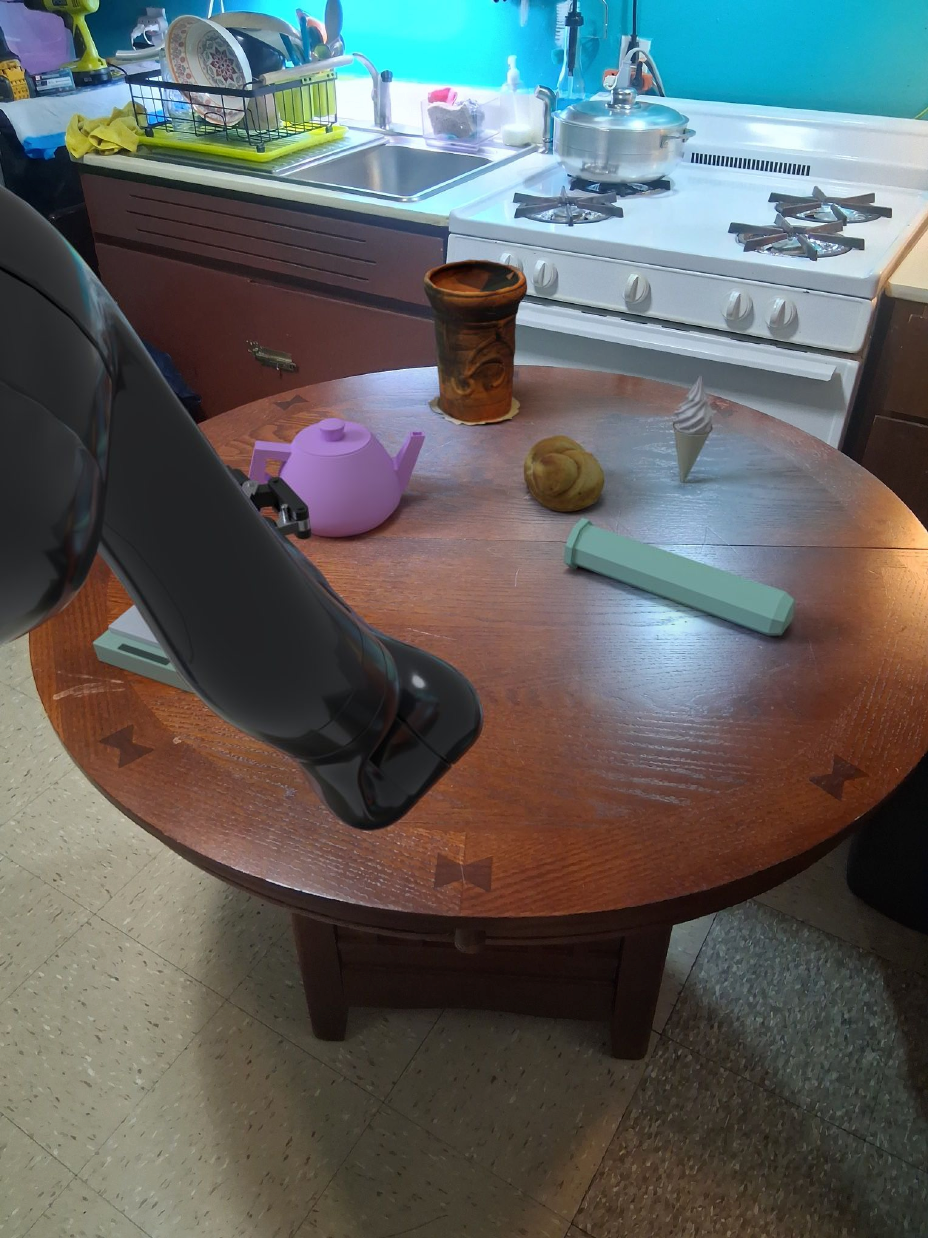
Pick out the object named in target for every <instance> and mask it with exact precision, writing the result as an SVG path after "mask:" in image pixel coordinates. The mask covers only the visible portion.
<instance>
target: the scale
mask: <svg viewBox="0 0 928 1238" xmlns="http://www.w3.org/2000/svg"><path fill="white" fill-rule="evenodd" d="M107 628H108V629H107V630H106V631H104V632H103V633H102V634H101V635H100V636H99V637H97V638H96V639H95V640H94V641H93V642H92V645H93V648H94V652H95V654H96V657H97V659H98V661H99V662H102V663H106V664H108V665H110V666H113V667H116V668H119V669H122V670H125V671H128V672H131V673H134V674H137V675H139V676H143V677H145V678H148V679H151V680H154V681H156V682H159V683H161V684H165V685H168V686H170V687H174V688H176V689H180V690H182V691H184V692H188V693H191V694H194V692H193V691H192V690H191V689H190V688H189V687H188V686H187V684H186V683H185V682H184V681H183V679H182V678H181V677H180V676H179V674H178V673H177V671H176V670H175V668H174V667H173V665H172V664H171V662H170V661H169V659H168V658H167V656H166V654H165V653H164V651H163V649H162V648H161V646H160V645H159V643H158V642H157V640H156V638H155V637H154V635H153V634H152V632H151V631H150V629H149V627H148V626H147V624H146V623H145V621H144V619H143V618H142V616H141V615H140V613H139V611H138V610H137V608H136V607H135V605H134V604H133V605H132V606H131V607H129V608H128V609H127V610H126V611H125V612H123V613H122V614H121V615H120V616H119V617H118V618H117V619H115V620H114V621H112V622H111V623H110V624H109V625H108V627H107Z"/></svg>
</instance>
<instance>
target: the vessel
mask: <svg viewBox="0 0 928 1238" xmlns="http://www.w3.org/2000/svg"><path fill="white" fill-rule="evenodd" d="M423 290H424V293H425V295H426V297H427V299H428V301H429V304H430V307H431V310H432V314H433V317H434V318H433V321H434V334H435V335H434V336H435V343H436V344H435V359H436V360H435V361H436V367H437V374H438V389H439V395H438V396H434V399H432V400H430V401H428V402H427V403H428V405H429V406H430V408H431V409H432V411H434V412H435V413H438V414H442V415H441V417H442V418H444V421H449V422H451V423H453V424H454V425H456V426H458V425H461V424H464V425H467V426H474V425H477V424H478V425H483V424H484V425H485V424H486V423H497V422H502V421H506V420H513V418H512V417H514V416H516V415H517V414H518V413H519V412H520V411H519V408H520V406H521V403H520V401H518V400H517V399H515V397H514V396H513V386H514V385H513V383H514V376H515V375H514V374H515V355H516V329H517V314H518V313H519V307H520V305H521V303H522V302H523V300H524V299H525V297H526V295H527V292H528V280H527V277H526V275H525V273H524V272H523V271H522V270H521V268H519V267H518V266H517V267H516V266H514V265H512V264H503V263H500V262H495V261H491V260H488V259H471V258H470V259H465V260H460V261H452V262H447V263H444V264H442V265H439V266H436V267H433V268H431V269H430V270H428V271H427V272H426V274H425V275H424V278H423Z"/></svg>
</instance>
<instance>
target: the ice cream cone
mask: <svg viewBox="0 0 928 1238" xmlns="http://www.w3.org/2000/svg"><path fill="white" fill-rule="evenodd" d="M685 397H686V398H685V399H686V400H685V401H684V402H682V403H680V404H678V405H677V407H678V408H679V410H674V412H673V415H674V416H676V418H675V419H673V420H672V424H671V426H672V429H673V435H674V442H675V450H676V457H677V464H678V472H679V477H680V483H681V484H684V483H686V480H687V479H688V477H689V475H690V473H691V471H692V469H693V467H694V465H695V464H696V461H697V459H698V458H699V456H700V453H701V452H702V449H703V448H704V446H705V443H706V441H707V439H708V438H709V435H710V434H711V433H712V432H713V430H714V428H713V424H714V423H713V422H714V418H715V414H714V411H713V409H712V406H710V405H709V403H708V399H709V395H708V394H707V392H706V390H705V387H704V382H703V378H702V375H701V374H700V375H699V377H698V378H697V380H696V381H695V383H694V384H693V386H692V388H690V390H689V391H688V392H687V394H686V395H685Z"/></svg>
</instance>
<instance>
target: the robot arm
mask: <svg viewBox="0 0 928 1238" xmlns="http://www.w3.org/2000/svg"><path fill="white" fill-rule="evenodd" d="M264 508H265V509H266V508H271V510H273V512H274V513H275V514H276V516H277V517H278V519H277V520H275V519H273V518H272V517H269V516H267V515H262V513H263V511H264ZM292 534H293V535H294V536H295V537H296V538H297V539H298V540H308V539H309V538H311V537H312V536H313V534H312V532H311V525H310V517H309V509H308V506H307V505H306V504H305V503H304V502H303V501H302V499H301V498H300V497H299V496H298V495H297V494H296V493H295V492H294V491H293V490H292V489H291V487H290V486H289V485H288V484H287V483H286V482H285V481H284V480H283V479H282V478H280V477H277V476H273V477H272V478H270V479H269V480H268V484H259V483H258V482H257V481H255V480H251V479H249V478H248V475H247V474H246V473H245V472H243V471H242V470H241V469H239V468H232V467H231V466H230V464H225V463H224V461H223V459H222V458H221V456H220V455H219V454H218V452H217V451H216V449H215V447H213V445H212V444H211V442H210V441H209V439H208V438H207V436H206V435H205V434H204V432H203V431H202V429H201V428H200V426H199V425H198V423H197V422H196V421H195V420H194V418H193V417H192V415H191V414H190V412H189V411H188V410H187V408H186V407H185V406H184V404H183V403H182V401H181V400H180V398H179V396H178V395H177V393H176V392H175V391H174V389H173V387H172V386H171V384H170V383H169V382H168V380H167V378H166V377H165V375H164V374H163V372H162V371H161V370H160V368H159V366H158V364H157V363H156V362H155V360H154V359H153V357H152V355H151V354H150V353H149V350H147V348H146V346H145V345H144V343H143V342H142V340H141V338H140V337H139V335H138V334H137V332H136V331H135V329H134V327H133V326H132V324H131V323H130V322H129V320H128V319H127V318H126V315H125V314H124V313H123V311H122V310H121V308H120V307H119V306H118V304H117V303H116V301H115V299H114V298H113V297H112V296H111V294H110V293H109V291H108V290H107V289H106V287H105V286H104V284H103V283H102V282H101V280H100V279H99V278H98V276H97V275H96V274H95V272H94V271H93V269H92V268H91V267H90V265H89V264H88V263H87V261H86V260H85V259H84V258H83V257H82V255H81V254H80V253H79V252H78V251H77V250H76V248H75V247H74V246H73V245H72V243H70V242H69V240H67V239H66V238H65V236H64V235H63V234H62V233H61V232H60V231H59V229H57V228H56V227H55V226H54V225H52V224H51V223H50V221H49V220H47V219H46V217H44V215H42V214H41V213H40V212H39V211H37V210H36V209H35V208H34V207H33V206H31V204H29V202H27V201H25V200H24V199H22V198H21V197H20V196H18V195H16V194H15V193H14V192H12V191H11V190H10V189H8V188H6V187H4V186H3V185H2V184H0V647H4V646H5V645H7V644H9V643H11V642H14V641H16V640H18V639H20V638H22V637H24V636H26V635H27V634H29V633H31V632H33V631H35V630H36V629H38V628H41V626H43V625H45V624H46V623H47V622H49V621H50V620H52V619H53V618H55V617H56V616H58V615H59V614H60V613H61V612H62V611H63V610H64V609H65V608H67V606H68V605H69V604H71V602H72V601H73V600H74V599H75V597H76V596H77V595H78V593H79V592H80V591H81V589H82V587H84V585H85V584H86V583H85V582H86V581H87V578H88V575H89V573H90V571H91V568H92V567H93V564H94V561H95V558H96V555H97V553H98V554H99V556H100V557H101V558H102V559H103V561H104V562H105V563H106V565H107V566H108V567H109V568H110V571H112V573H113V575H114V576H115V577H116V579H117V580H118V582H119V584H120V585H121V586H122V588H123V590H124V591H125V592H126V594H127V595H128V597H129V598H130V600H131V602H132V603H133V605H135V607H136V608H137V610H138V611H139V613H140V615H141V616H142V618H143V619H144V621H145V623H146V624H147V626H148V627H149V629H150V631H151V632H152V634H153V635H154V637H155V638H156V640H157V642H158V643H159V645H160V646H161V648H162V649H163V651H164V653H165V654H166V656H167V658H168V659H169V661H170V662H171V664H172V665H173V667H174V668H175V670H176V671H177V673H178V674H179V676H180V677H181V678H182V679H183V681H184V682H185V683H186V684H187V686H188V687H189V688H190V689H191V690H192V691H193V692H194V693H193V694H194V695H195V696H196V697H197V698H198V699H199V700H200V702H201V703H202V704H203V705H204V706H205V707H206V708H207V709H209V710H210V711H211V712H212V713H213V714H214V715H215V716H216V717H218V718H219V719H221V720H222V721H223V722H225V723H226V724H228V725H229V726H231V727H233V728H234V729H235V730H237V731H238V732H240V733H243V734H245V735H246V736H249V737H250V738H252V739H253V740H254V739H255V740H256V741H258V742H259V743H262V744H264V745H266V746H267V747H269V748H271V749H273V750H275V751H277V752H279V753H281V754H283V755H285V756H286V757H288V758H289V759H291V761H293V762H294V763H295V764H296V765H297V766H298V768H299V771H300V772H301V774H302V775H303V777H304V779H305V781H306V782H307V784H308V786H309V788H310V789H311V790H312V792H313V794H314V795H315V796H316V797H317V799H318V800H319V802H320V803H321V804H322V806H324V808H325V809H326V810H327V811H328V812H329V813H330V814H331V815H332V816H333V817H334V818H336V819H337V820H338V821H339V822H340V823H342V824H344V825H346V826H348V827H350V828H352V829H354V830H357V831H363V832H374V831H380V830H384V829H386V828H390V827H391V826H393V825H394V824H397V823H398V822H399V821H401V820H402V819H403V818H404V817H405V816H407V815H408V814H409V812H410V811H411V810H412V809H413V808H414V807H416V806H417V804H418V803H419V802H420V800H422V799H423V798H424V797H425V796H426V795H427V794H428V793H429V791H430V790H432V789H433V788H434V786H436V785H437V784H438V783H439V782H440V780H442V778H443V777H444V776H445V775H446V774H447V773H448V772H449V771H450V770H451V769H452V768H453V766H454V765H456V764H457V763H458V762H459V761H460V760H461V759H462V758H463V757H465V755H466V754H467V753H468V752H469V751H470V750H471V749H472V748H473V746H474V745H475V744H476V742H477V741H478V739H479V738H480V737H481V734H482V731H483V729H484V722H485V721H484V710H483V709H484V708H483V705H482V701H481V698H480V696H479V693H478V691H477V690H476V688H475V687H474V685H473V684H472V682H471V681H470V680H469V679H468V678H467V676H465V674H464V673H462V672H461V671H460V670H459V669H458V668H457V667H455V666H454V665H453V664H451V663H449V662H448V661H446V660H445V659H443V658H441V657H439V656H437V655H435V654H434V653H431V652H429V651H427V650H425V649H424V648H420V647H418V646H416V645H414V644H411V643H409V642H406V641H404V640H401V639H399V638H397V637H394V636H392V635H390V634H388V633H385V632H384V631H382V630H381V629H379V628H376V627H375V626H373V625H372V624H371V623H369V622H367V621H366V620H365V619H364V618H363V617H362V616H361V615H360V614H359V613H358V612H357V611H356V610H355V609H353V608H352V606H350V604H349V603H348V602H346V600H344V599H343V598H342V597H341V596H340V595H339V593H338V592H337V591H336V590H334V588H333V587H332V586H331V584H330V582H329V581H328V580H327V578H326V577H325V575H324V574H323V573H322V572H321V570H320V569H319V568H318V567H317V566H316V565H315V564H314V563H313V562H312V561H311V560H310V559H309V558H308V557H307V556H306V555H305V554H304V553H303V552H302V551H301V550H300V549H299V548H298V546H297V545H295V544H294V543H293V542H292V541H291V540H290V539H289V538H288V536H290V535H292Z"/></svg>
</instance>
